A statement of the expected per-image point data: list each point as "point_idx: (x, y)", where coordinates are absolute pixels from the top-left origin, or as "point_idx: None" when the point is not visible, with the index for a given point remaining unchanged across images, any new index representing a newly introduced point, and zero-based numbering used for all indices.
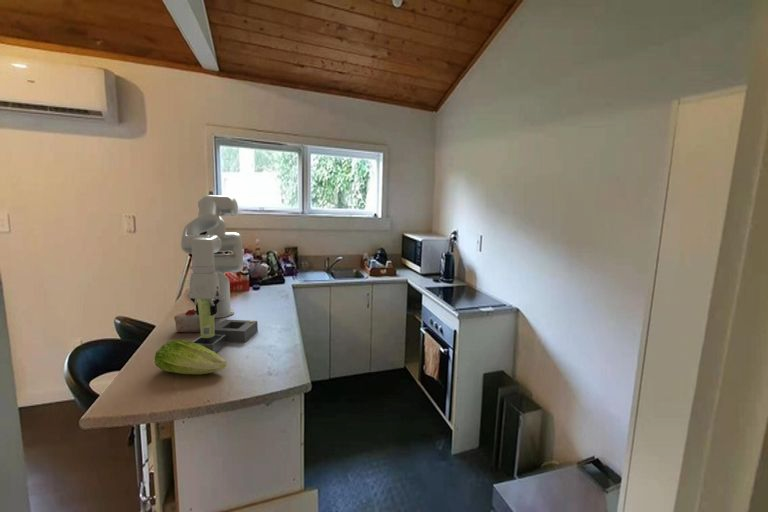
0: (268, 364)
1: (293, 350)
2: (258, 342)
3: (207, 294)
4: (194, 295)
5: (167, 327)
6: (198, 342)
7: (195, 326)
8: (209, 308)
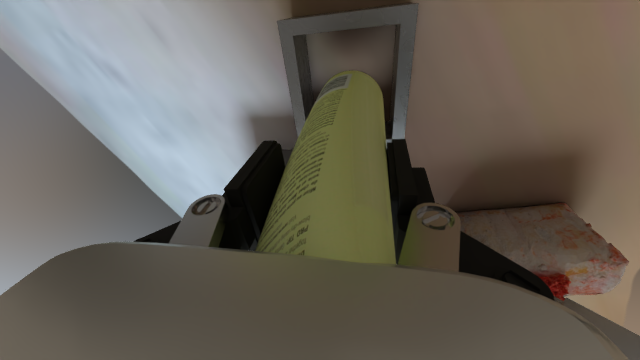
0: None
1: (84, 115)
2: (220, 156)
3: (61, 342)
4: (457, 354)
5: (625, 244)
6: (395, 78)
7: (487, 224)
8: (279, 186)
